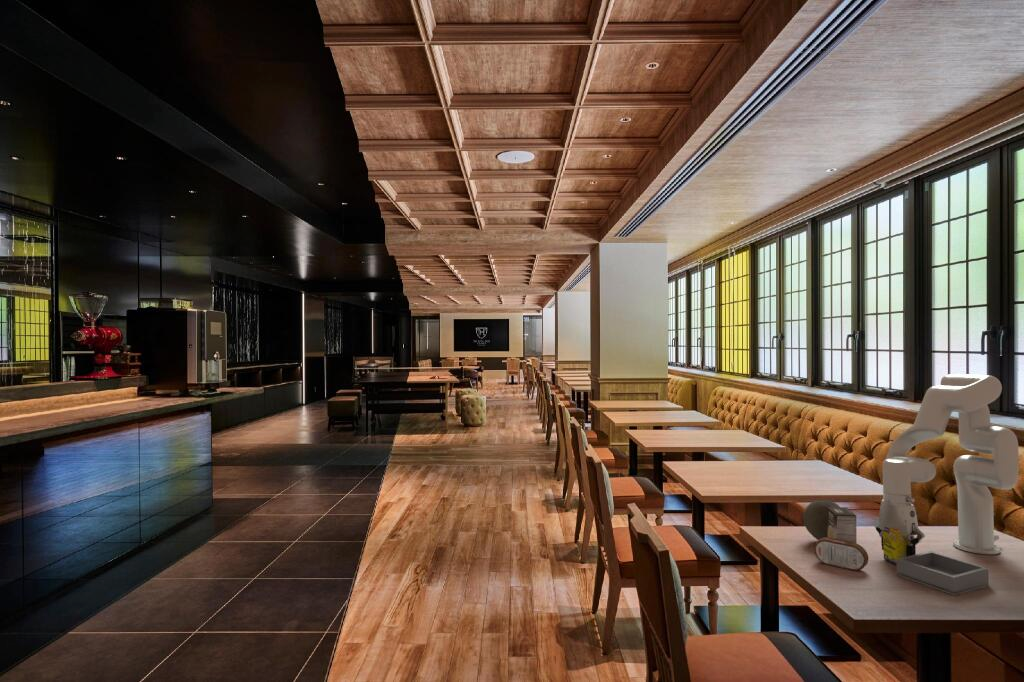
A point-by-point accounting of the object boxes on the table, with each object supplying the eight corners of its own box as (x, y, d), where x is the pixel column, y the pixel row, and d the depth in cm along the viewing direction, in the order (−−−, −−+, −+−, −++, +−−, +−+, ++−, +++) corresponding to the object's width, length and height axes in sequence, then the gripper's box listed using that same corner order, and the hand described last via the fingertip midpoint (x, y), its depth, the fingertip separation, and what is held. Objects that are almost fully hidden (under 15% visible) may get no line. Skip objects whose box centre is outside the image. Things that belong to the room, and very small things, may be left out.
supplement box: (883, 559, 192) (882, 525, 192) (900, 558, 193) (899, 524, 193) (896, 565, 186) (895, 531, 186) (914, 564, 187) (913, 530, 187)
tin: (868, 571, 182) (868, 544, 182) (866, 574, 180) (866, 546, 180) (816, 560, 192) (815, 534, 192) (813, 562, 190) (812, 536, 190)
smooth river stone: (822, 535, 217) (821, 494, 217) (858, 546, 204) (858, 503, 204) (795, 540, 211) (794, 498, 211) (830, 553, 198) (829, 508, 198)
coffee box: (826, 554, 197) (826, 506, 197) (847, 555, 196) (847, 507, 196) (836, 564, 188) (835, 514, 188) (858, 565, 187) (857, 514, 187)
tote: (930, 567, 185) (930, 551, 185) (988, 585, 170) (988, 568, 170) (897, 575, 178) (896, 558, 179) (954, 595, 164) (954, 577, 164)
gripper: (932, 503, 183) (934, 560, 183) (878, 490, 199) (879, 543, 199) (917, 506, 180) (918, 564, 180) (863, 493, 196) (864, 546, 196)
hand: (898, 552), depth 189 cm, fingers closed on supplement box, 7 cm apart
